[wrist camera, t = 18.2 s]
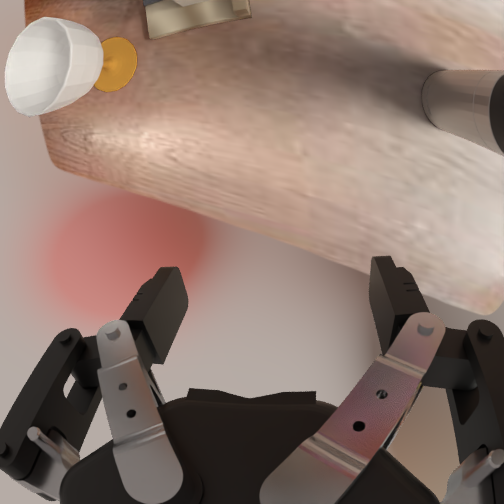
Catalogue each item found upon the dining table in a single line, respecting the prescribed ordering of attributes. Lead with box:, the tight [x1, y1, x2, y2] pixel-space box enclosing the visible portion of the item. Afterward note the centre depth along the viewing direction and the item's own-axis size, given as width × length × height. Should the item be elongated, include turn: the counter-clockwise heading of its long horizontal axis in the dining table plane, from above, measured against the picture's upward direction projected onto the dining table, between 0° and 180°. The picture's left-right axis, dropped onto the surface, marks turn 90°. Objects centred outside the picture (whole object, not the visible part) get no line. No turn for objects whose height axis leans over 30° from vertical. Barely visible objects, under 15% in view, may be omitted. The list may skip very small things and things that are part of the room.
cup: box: [5, 17, 137, 117], centre depth 29 cm, size 12×12×17 cm
